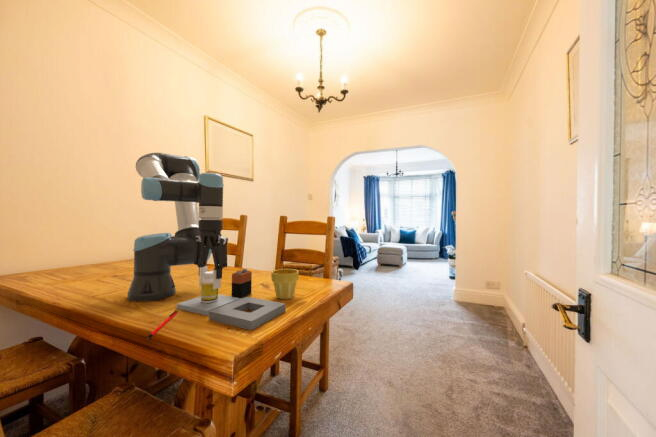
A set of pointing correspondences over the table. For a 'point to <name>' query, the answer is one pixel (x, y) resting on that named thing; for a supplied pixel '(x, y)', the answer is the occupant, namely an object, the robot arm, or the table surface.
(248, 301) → the pocket holder
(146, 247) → the robot arm
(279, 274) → the plant pot
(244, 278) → the battery
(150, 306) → the table surface
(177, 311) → the pen
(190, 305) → the blue-grey tile
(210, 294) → the supplement bottle
